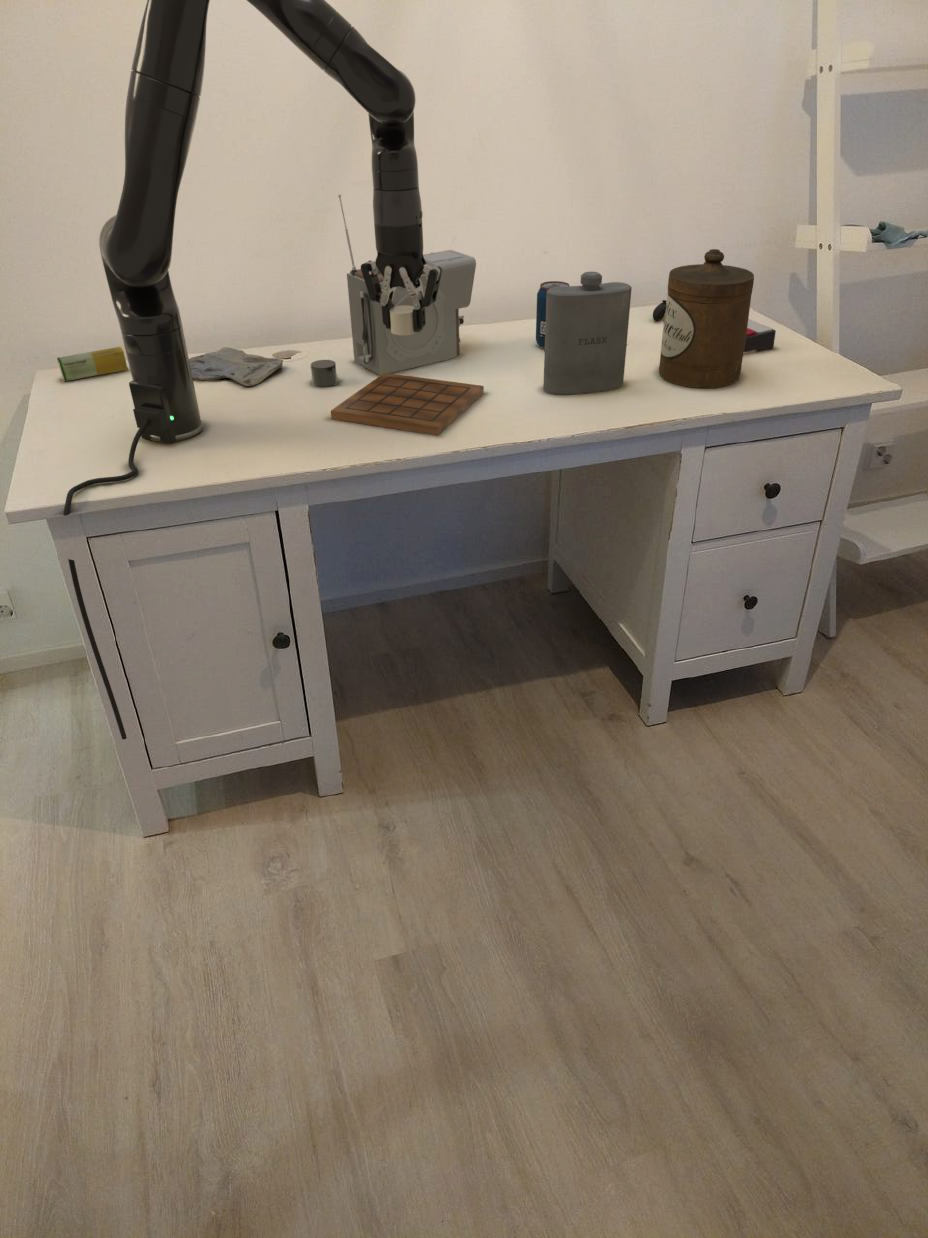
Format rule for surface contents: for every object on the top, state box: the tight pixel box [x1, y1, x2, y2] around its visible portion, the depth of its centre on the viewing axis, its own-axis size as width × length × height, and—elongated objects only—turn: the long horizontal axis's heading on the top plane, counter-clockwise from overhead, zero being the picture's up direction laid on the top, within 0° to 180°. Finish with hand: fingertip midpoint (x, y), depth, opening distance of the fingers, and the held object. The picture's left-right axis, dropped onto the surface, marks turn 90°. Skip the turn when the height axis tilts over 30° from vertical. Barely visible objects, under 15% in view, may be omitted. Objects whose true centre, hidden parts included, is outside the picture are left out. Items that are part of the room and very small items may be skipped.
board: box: [330, 373, 485, 436], centre depth 155 cm, size 20×20×2 cm
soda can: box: [535, 280, 570, 350], centre depth 178 cm, size 7×7×12 cm
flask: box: [542, 271, 633, 396], centre depth 155 cm, size 15×6×20 cm, turn 103°
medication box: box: [56, 346, 129, 382], centre depth 170 cm, size 12×3×4 cm, turn 118°
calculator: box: [744, 318, 777, 354], centre depth 177 cm, size 11×4×15 cm
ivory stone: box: [389, 306, 417, 335], centre depth 147 cm, size 5×5×4 cm
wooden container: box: [658, 248, 755, 389], centre depth 159 cm, size 15×15×22 cm
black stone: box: [310, 359, 338, 388], centre depth 165 cm, size 5×5×4 cm
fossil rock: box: [189, 346, 284, 387], centre depth 170 cm, size 18×15×2 cm
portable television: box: [337, 193, 477, 376], centre depth 168 cm, size 12×24×30 cm, turn 124°
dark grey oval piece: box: [652, 299, 667, 322], centre depth 194 cm, size 10×5×6 cm
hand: (404, 328), depth 148 cm, fingers closed on ivory stone, 4 cm apart
